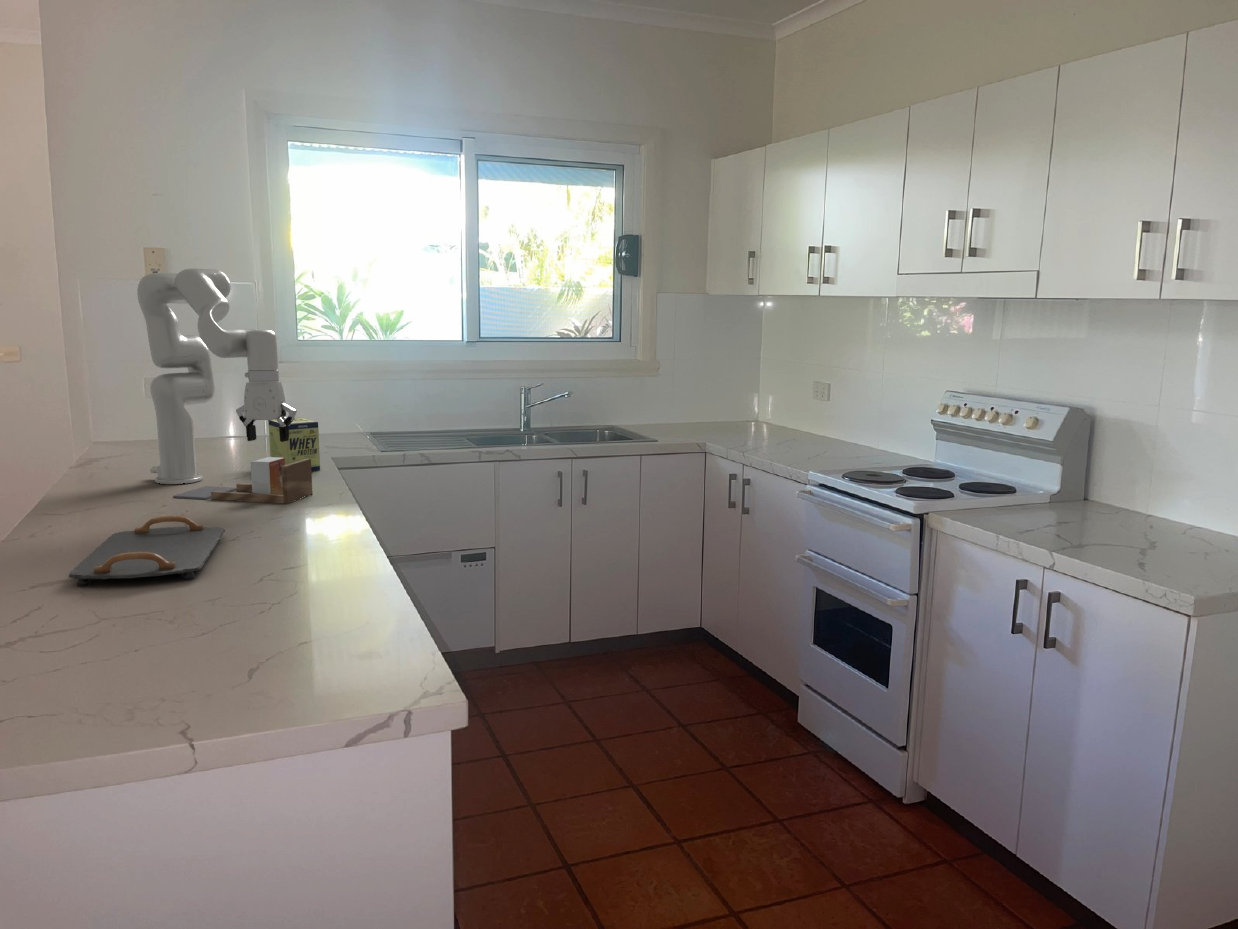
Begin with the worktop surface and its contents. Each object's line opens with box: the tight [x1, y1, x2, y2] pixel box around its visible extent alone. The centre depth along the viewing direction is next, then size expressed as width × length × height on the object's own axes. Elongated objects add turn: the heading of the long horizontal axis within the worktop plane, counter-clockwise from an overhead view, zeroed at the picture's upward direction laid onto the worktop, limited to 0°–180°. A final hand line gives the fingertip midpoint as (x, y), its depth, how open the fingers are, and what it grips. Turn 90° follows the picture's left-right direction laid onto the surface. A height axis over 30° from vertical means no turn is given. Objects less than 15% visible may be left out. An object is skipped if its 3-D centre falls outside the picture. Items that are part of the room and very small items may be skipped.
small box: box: [250, 456, 285, 495], centre depth 247 cm, size 8×6×10 cm
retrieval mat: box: [172, 485, 237, 501], centre depth 252 cm, size 10×14×1 cm
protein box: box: [267, 417, 321, 472], centre depth 290 cm, size 10×16×16 cm
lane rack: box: [210, 459, 313, 504], centre depth 248 cm, size 23×12×10 cm, turn 78°
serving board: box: [68, 515, 226, 588], centre depth 186 cm, size 39×23×6 cm, turn 15°
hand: (268, 440), depth 245 cm, fingers open, 9 cm apart
